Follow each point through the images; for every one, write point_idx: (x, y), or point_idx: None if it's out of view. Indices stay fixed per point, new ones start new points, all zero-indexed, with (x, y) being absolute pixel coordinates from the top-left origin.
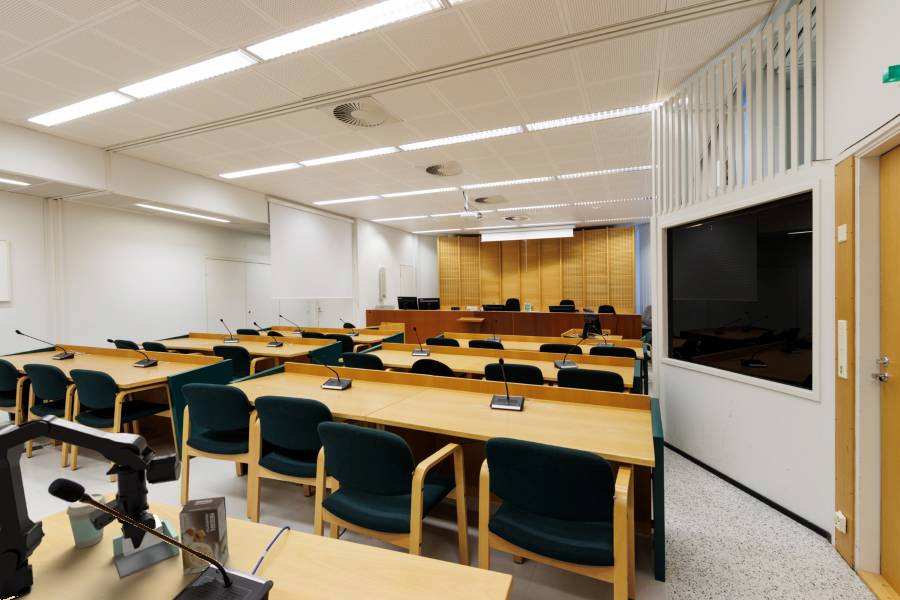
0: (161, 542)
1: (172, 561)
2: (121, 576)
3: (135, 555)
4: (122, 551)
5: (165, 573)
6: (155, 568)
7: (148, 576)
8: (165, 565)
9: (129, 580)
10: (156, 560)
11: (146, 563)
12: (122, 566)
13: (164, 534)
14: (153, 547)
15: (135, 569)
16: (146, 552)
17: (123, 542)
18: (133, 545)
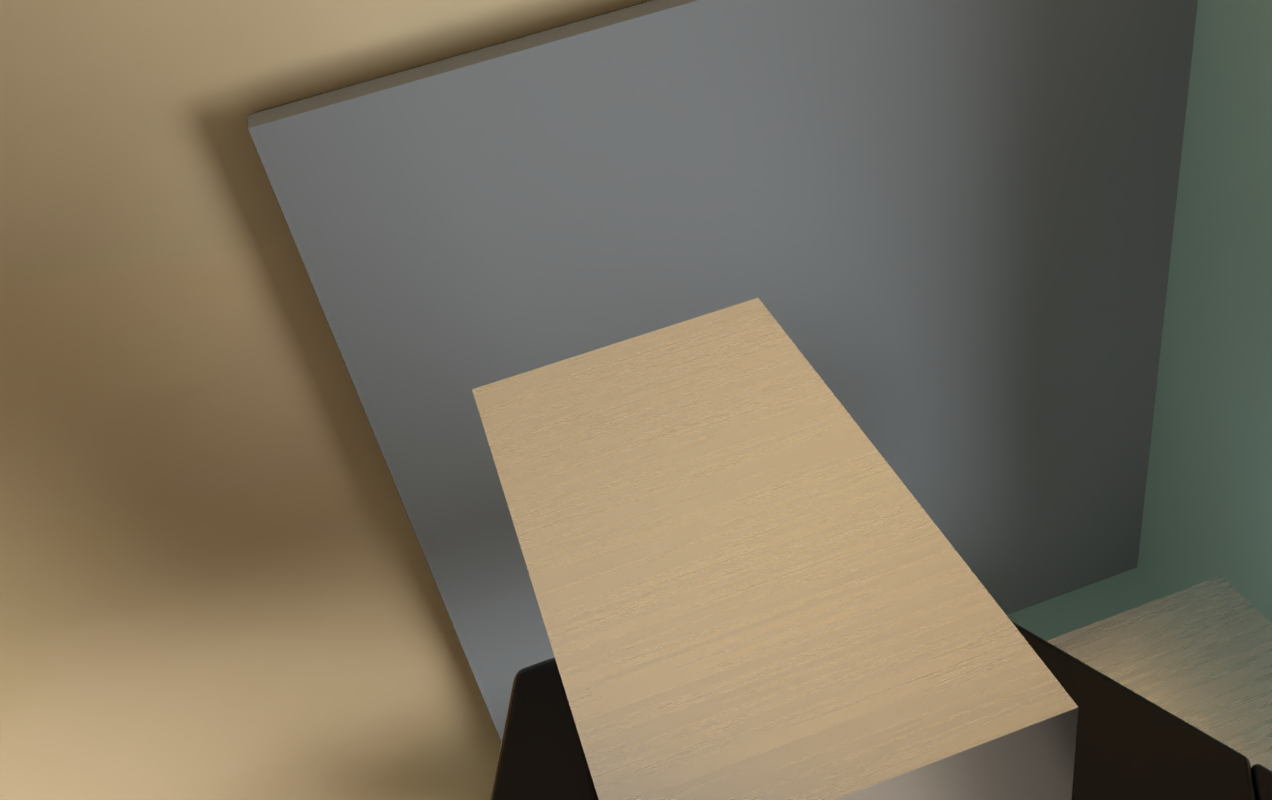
0: (1009, 562)
1: (362, 787)
2: (257, 137)
3: (915, 263)
4: (1223, 20)
5: (33, 786)
6: (285, 622)
7: (60, 580)
8: (297, 731)
9: (72, 294)
10: (496, 614)
11: (495, 493)
12: (672, 91)
13: (1159, 596)
14: (952, 488)
15: (384, 360)
16: (878, 418)
17: (681, 676)
18: (496, 795)
